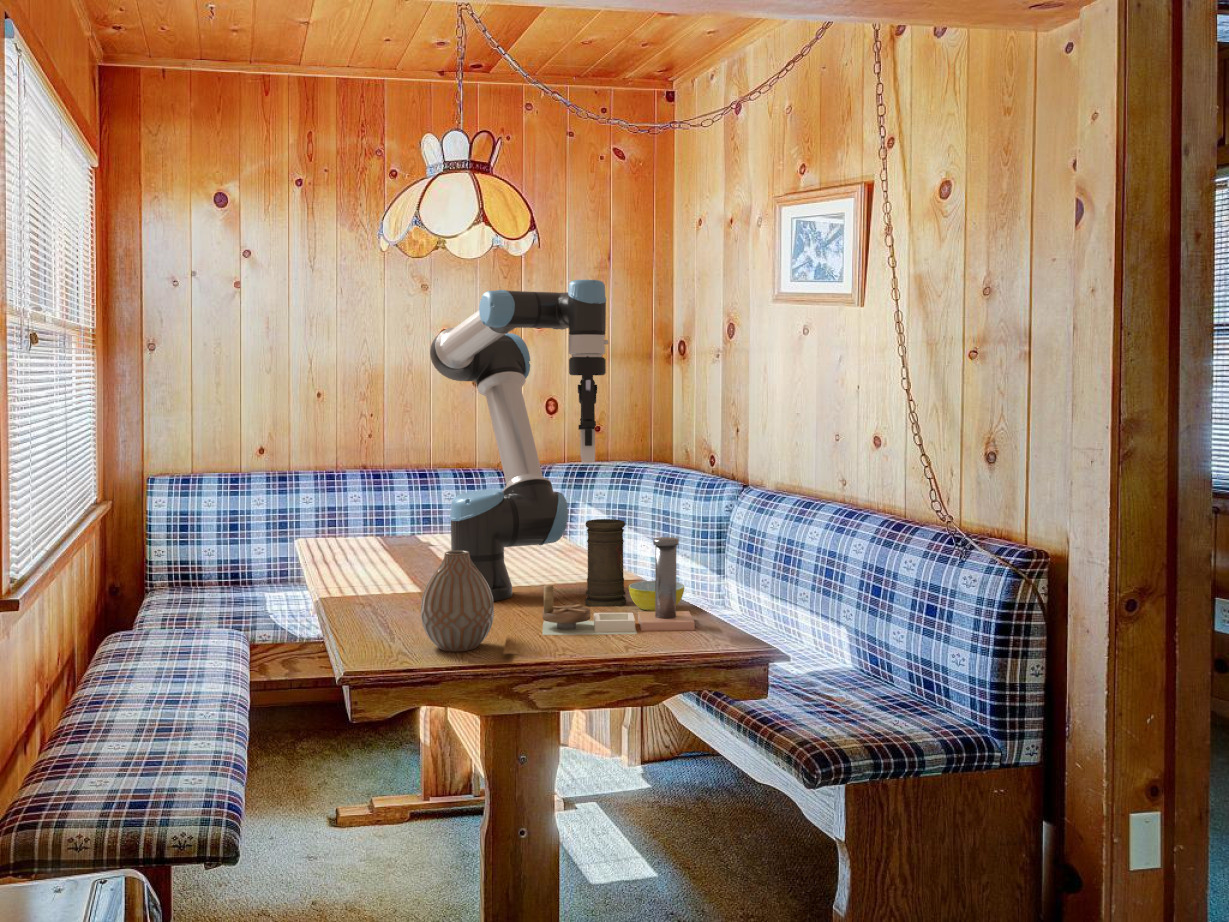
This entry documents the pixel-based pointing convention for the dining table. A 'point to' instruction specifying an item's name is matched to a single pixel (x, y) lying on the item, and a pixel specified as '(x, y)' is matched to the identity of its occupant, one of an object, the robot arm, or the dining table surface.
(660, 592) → the metal flanged cylinder
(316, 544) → the dining table surface
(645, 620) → the rest tile
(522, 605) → the dining table surface
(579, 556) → the dining table surface
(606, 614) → the plate
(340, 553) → the dining table surface
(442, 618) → the vase
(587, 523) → the container
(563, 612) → the handwheel
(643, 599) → the bowl
